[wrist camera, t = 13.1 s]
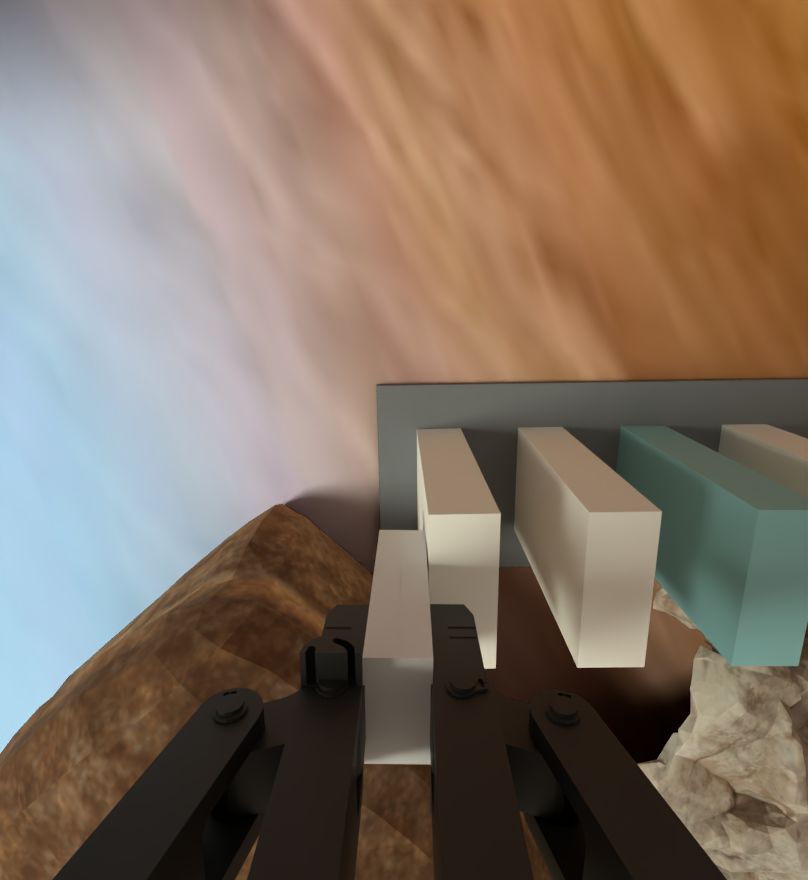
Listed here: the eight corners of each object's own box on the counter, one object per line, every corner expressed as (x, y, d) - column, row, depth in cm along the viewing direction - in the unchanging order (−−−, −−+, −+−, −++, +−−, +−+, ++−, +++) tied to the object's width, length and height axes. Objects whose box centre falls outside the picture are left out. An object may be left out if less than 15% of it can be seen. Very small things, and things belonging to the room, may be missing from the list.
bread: (436, 973, 34) (453, 1370, 22) (59, 664, 29) (-217, 956, 16) (657, 836, 31) (827, 1202, 19) (286, 460, 26) (167, 620, 13)
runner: (382, 564, 27) (381, 568, 26) (376, 384, 25) (376, 386, 24) (869, 558, 27) (876, 562, 26) (911, 376, 24) (918, 377, 24)
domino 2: (514, 529, 26) (577, 667, 16) (518, 427, 25) (589, 512, 15) (556, 528, 26) (644, 667, 16) (562, 426, 25) (662, 511, 15)
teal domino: (610, 527, 26) (731, 665, 16) (620, 425, 25) (758, 510, 15) (652, 527, 26) (798, 666, 16) (665, 425, 25) (831, 510, 15)
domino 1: (417, 530, 26) (429, 670, 16) (416, 429, 25) (428, 514, 15) (459, 529, 26) (495, 668, 16) (460, 428, 25) (500, 513, 15)
